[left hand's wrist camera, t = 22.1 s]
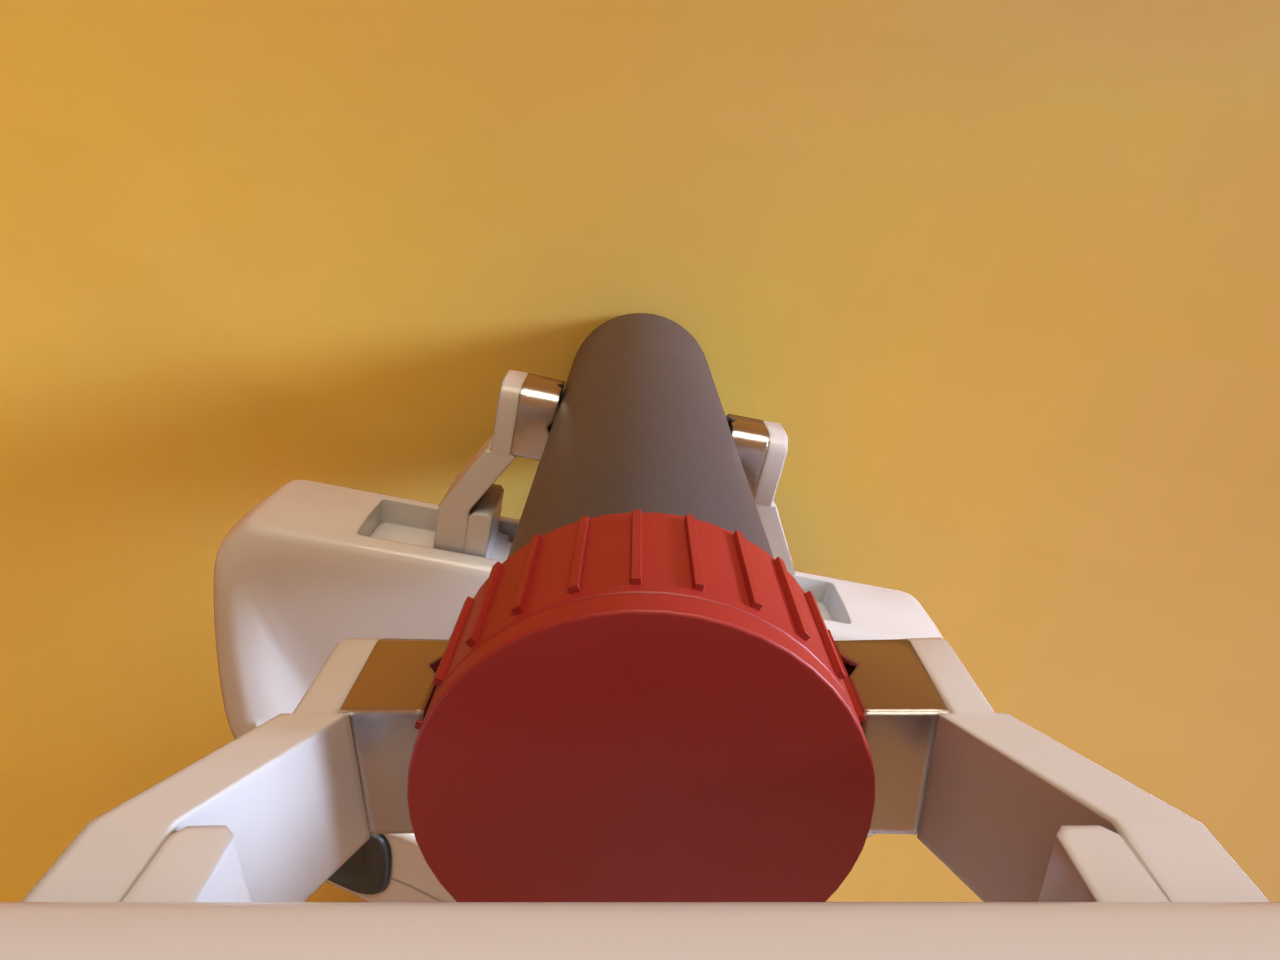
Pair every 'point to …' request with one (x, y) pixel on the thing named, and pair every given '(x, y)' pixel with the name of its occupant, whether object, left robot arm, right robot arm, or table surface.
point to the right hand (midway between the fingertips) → (645, 401)
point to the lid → (641, 727)
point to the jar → (640, 437)
